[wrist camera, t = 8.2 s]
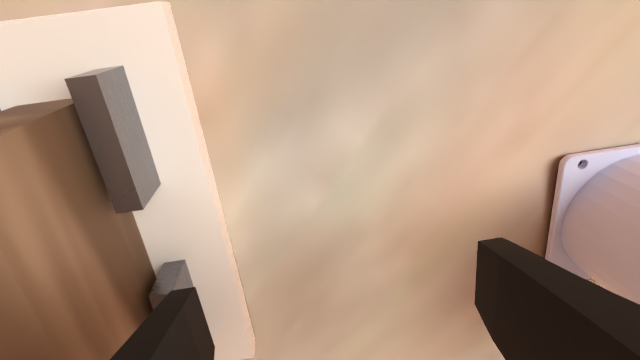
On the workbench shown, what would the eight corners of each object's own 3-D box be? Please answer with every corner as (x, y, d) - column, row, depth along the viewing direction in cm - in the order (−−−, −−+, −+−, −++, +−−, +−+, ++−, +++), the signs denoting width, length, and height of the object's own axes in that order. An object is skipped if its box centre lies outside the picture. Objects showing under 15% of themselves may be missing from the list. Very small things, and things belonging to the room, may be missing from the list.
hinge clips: (123, 65, 15) (95, 74, 12) (209, 336, 20) (201, 376, 18) (-40, 87, 14) (-97, 100, 12) (94, 355, 20) (72, 397, 18)
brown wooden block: (111, 92, 15) (-14, 153, 9) (189, 324, 20) (147, 472, 13) (16, 105, 15) (-183, 176, 8) (119, 335, 20) (43, 491, 13)
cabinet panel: (169, 2, 15) (160, 0, 14) (255, 340, 22) (254, 357, 21) (-97, 35, 14) (-127, 37, 13) (81, 369, 22) (70, 388, 21)
